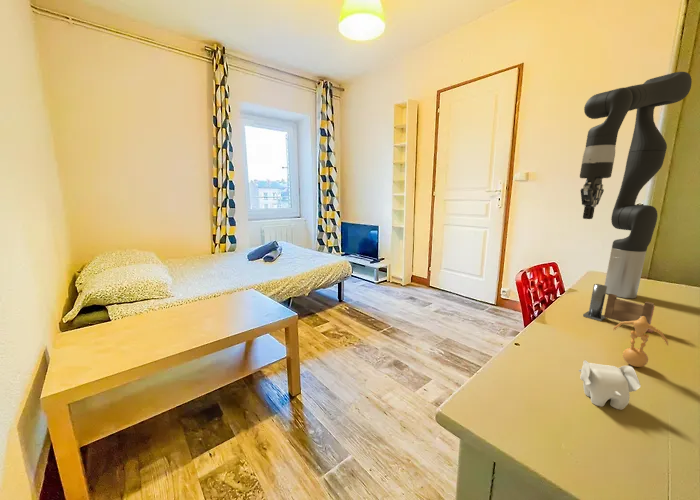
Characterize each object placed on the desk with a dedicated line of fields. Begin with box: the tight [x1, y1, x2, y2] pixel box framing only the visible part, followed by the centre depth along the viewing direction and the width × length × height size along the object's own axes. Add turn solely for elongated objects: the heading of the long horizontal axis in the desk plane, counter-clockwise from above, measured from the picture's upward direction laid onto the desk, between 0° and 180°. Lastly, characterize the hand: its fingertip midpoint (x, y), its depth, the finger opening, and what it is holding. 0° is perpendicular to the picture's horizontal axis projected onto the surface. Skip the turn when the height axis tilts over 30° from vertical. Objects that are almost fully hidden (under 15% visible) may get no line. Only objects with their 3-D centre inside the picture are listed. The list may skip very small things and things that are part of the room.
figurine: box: [612, 316, 669, 368], centre depth 62 cm, size 8×6×12 cm
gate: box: [603, 294, 655, 323], centre depth 82 cm, size 9×2×7 cm, turn 37°
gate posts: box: [583, 283, 656, 334], centre depth 84 cm, size 6×15×10 cm, turn 36°
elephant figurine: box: [578, 359, 642, 411], centre depth 53 cm, size 8×10×7 cm
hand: (587, 218), depth 92 cm, fingers closed
